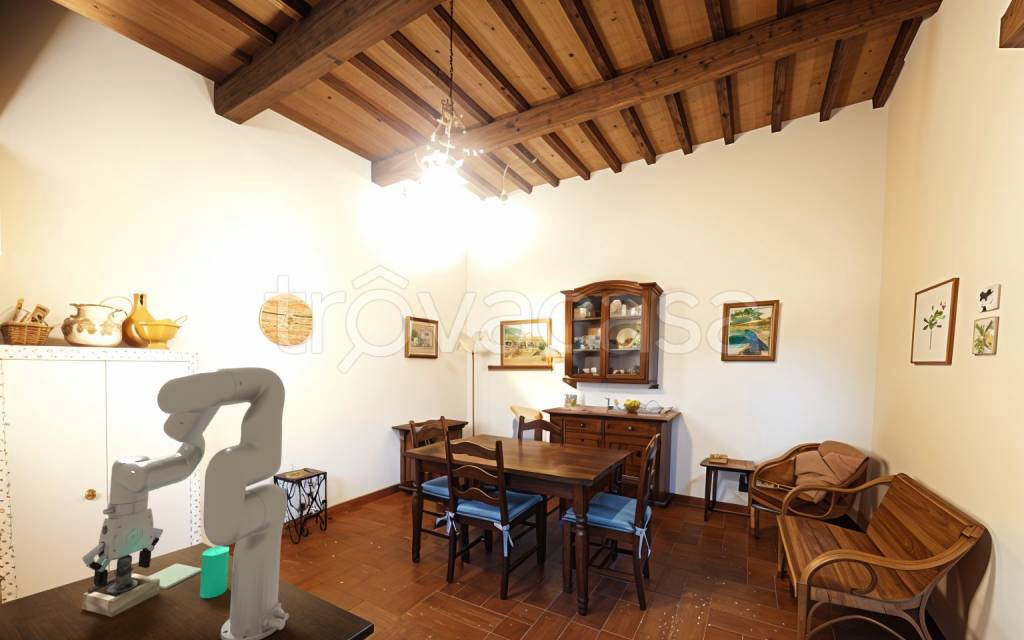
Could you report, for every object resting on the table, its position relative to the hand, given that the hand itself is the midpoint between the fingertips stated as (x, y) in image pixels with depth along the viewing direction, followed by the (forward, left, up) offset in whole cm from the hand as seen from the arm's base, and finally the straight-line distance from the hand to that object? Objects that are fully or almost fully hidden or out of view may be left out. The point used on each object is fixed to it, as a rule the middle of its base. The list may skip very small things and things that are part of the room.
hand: (123, 576), depth 109 cm
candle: (-18, -10, -6) cm, 22 cm away
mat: (0, -12, -6) cm, 13 cm away
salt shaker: (0, 0, -6) cm, 6 cm away
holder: (0, 0, -6) cm, 6 cm away
